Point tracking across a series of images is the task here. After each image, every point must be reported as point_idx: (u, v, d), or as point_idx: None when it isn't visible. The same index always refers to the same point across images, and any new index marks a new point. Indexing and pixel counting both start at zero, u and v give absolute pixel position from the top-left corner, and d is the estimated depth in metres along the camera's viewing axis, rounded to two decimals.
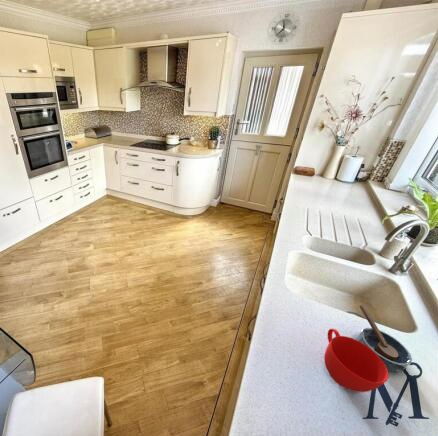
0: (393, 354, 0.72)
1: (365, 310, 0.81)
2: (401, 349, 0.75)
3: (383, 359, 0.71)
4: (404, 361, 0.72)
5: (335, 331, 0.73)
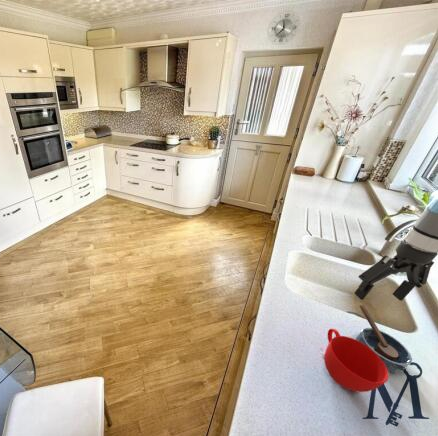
0: (393, 354, 0.72)
1: (365, 310, 0.81)
2: (401, 349, 0.75)
3: (383, 359, 0.71)
4: (404, 361, 0.72)
5: (335, 331, 0.73)
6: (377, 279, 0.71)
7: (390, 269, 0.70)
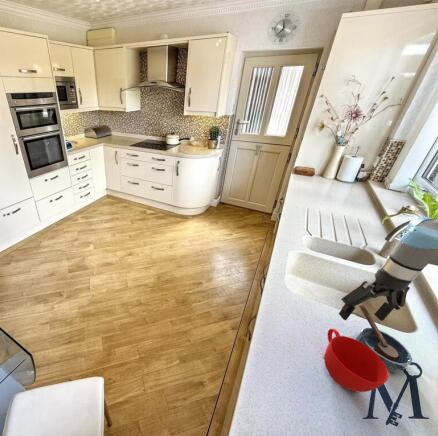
0: (393, 354, 0.72)
1: (365, 310, 0.81)
2: (401, 349, 0.75)
3: (383, 359, 0.71)
4: (404, 361, 0.72)
5: (335, 331, 0.73)
6: (358, 302, 0.77)
7: (370, 293, 0.76)
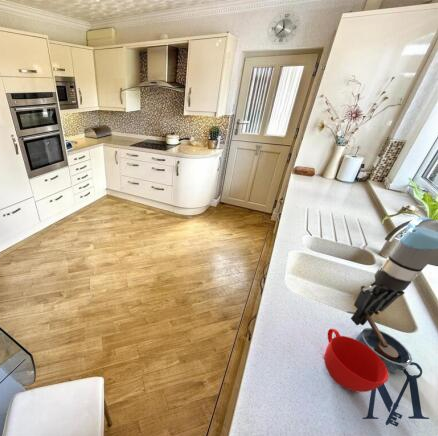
0: (393, 354, 0.72)
1: None
2: (401, 349, 0.75)
3: (383, 359, 0.71)
4: (404, 361, 0.72)
5: (335, 331, 0.73)
6: (368, 307, 0.78)
7: (373, 296, 0.77)
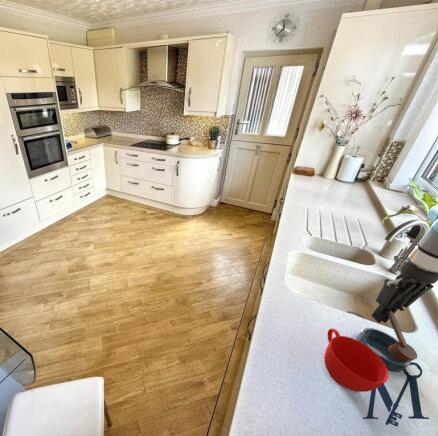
0: (412, 356, 0.67)
1: None
2: None
3: (383, 359, 0.71)
4: None
5: (335, 331, 0.73)
6: (392, 302, 0.71)
7: (398, 291, 0.69)
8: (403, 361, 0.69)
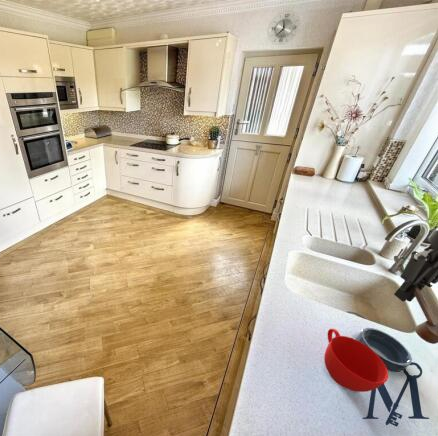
0: None
1: None
2: (401, 349, 0.75)
3: (383, 359, 0.71)
4: (404, 361, 0.72)
5: (335, 331, 0.73)
6: (419, 278, 0.65)
7: (427, 264, 0.63)
8: (432, 342, 0.62)
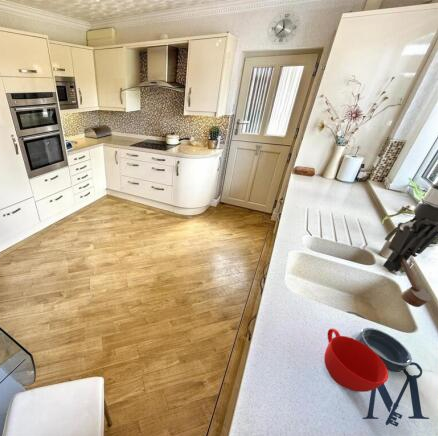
0: (425, 298, 0.67)
1: None
2: (401, 349, 0.75)
3: (383, 359, 0.71)
4: (404, 361, 0.72)
5: (335, 331, 0.73)
6: (405, 248, 0.71)
7: (412, 235, 0.69)
8: (416, 305, 0.68)
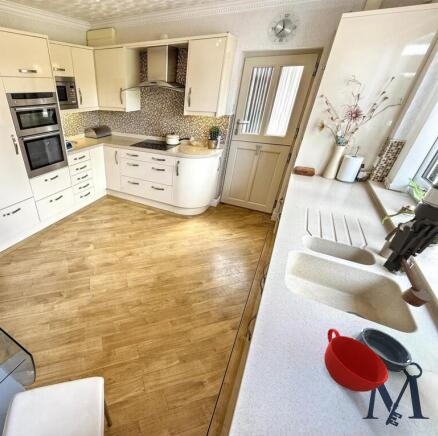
0: (425, 298, 0.67)
1: None
2: (401, 349, 0.75)
3: (383, 359, 0.71)
4: (404, 361, 0.72)
5: (335, 331, 0.73)
6: (405, 248, 0.71)
7: (412, 235, 0.69)
8: (416, 305, 0.68)
